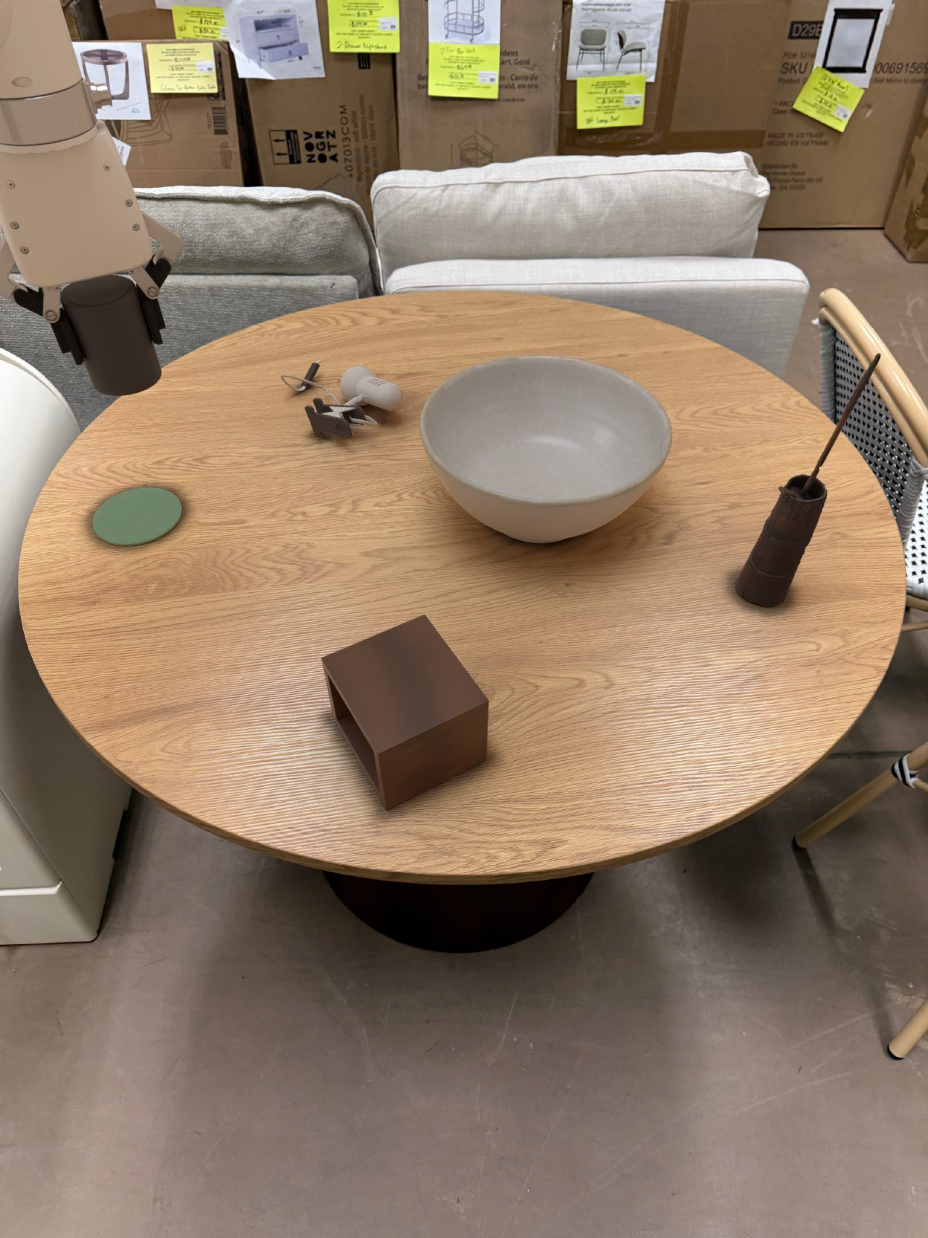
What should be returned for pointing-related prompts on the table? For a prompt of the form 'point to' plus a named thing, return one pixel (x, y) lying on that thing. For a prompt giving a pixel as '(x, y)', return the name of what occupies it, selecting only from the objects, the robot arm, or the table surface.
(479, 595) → the table surface
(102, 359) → the dark brown cylinder
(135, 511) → the mat
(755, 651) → the table surface
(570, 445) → the decorative bowl
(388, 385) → the clip-on lamp
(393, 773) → the box
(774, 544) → the butter churn
